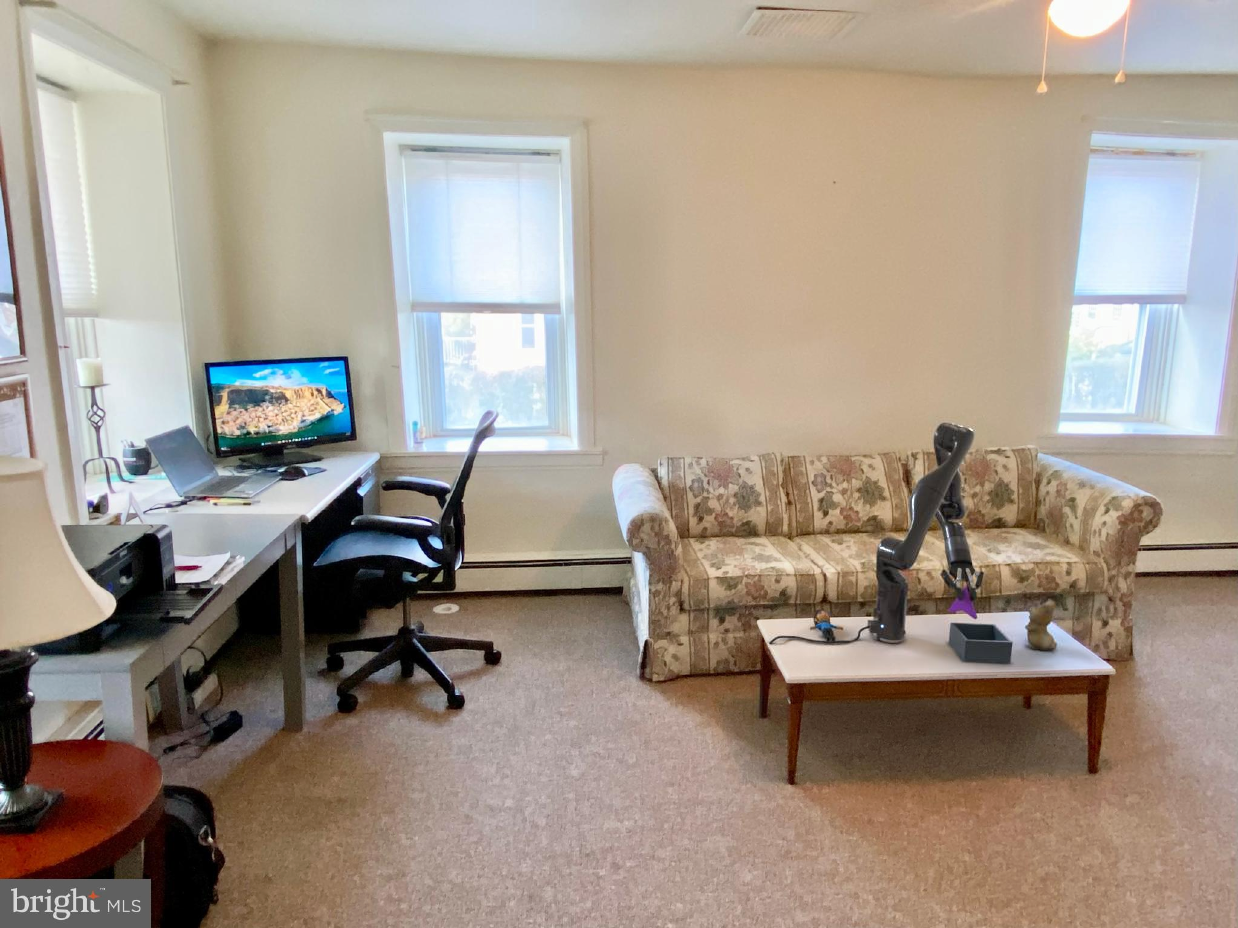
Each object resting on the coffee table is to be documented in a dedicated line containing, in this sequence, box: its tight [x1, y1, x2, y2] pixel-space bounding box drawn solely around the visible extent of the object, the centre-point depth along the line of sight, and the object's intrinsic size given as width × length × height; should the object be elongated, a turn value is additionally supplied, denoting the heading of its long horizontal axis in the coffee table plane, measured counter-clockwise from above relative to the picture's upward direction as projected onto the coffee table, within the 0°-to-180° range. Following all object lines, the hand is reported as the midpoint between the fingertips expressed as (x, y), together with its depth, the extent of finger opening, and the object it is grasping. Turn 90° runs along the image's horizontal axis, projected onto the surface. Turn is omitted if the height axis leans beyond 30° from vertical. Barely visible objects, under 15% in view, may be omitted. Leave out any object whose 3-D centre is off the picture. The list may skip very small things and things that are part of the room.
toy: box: [809, 609, 844, 641], centre depth 248 cm, size 11×6×15 cm
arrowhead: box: [947, 586, 978, 620], centre depth 246 cm, size 10×2×10 cm
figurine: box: [1024, 598, 1058, 651], centre depth 238 cm, size 10×8×15 cm
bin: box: [948, 622, 1013, 664], centre depth 233 cm, size 14×14×7 cm
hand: (967, 600), depth 244 cm, fingers closed on arrowhead, 3 cm apart
